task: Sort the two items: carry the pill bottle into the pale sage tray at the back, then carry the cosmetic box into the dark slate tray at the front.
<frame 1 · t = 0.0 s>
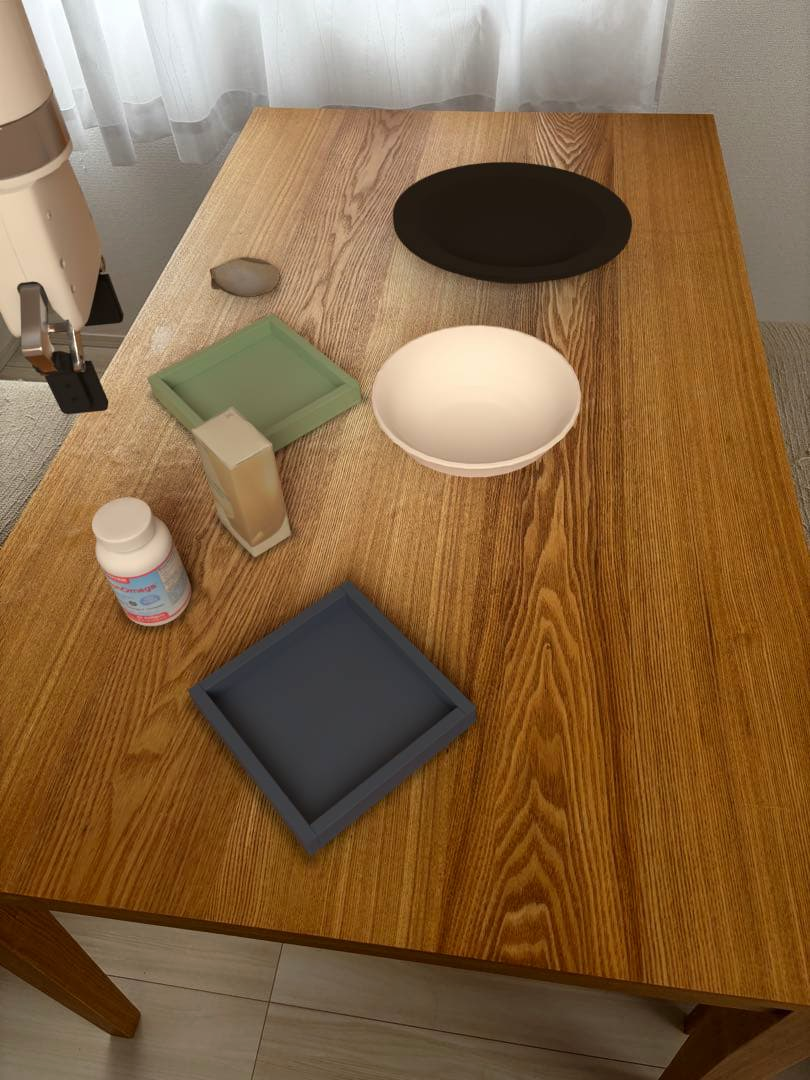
hand: (95, 364, 63), 22 cm above the table, tool pointing down, fingers open, 9 cm apart
plate: (508, 258, 106), on the table
slate tray: (333, 713, 69), on the table
bowl: (474, 439, 87), on the table
seashell: (247, 289, 104), on the table
sage tray: (256, 398, 92), on the table
pill bottle: (159, 601, 77), on the table
cosmetic box: (256, 529, 81), on the table
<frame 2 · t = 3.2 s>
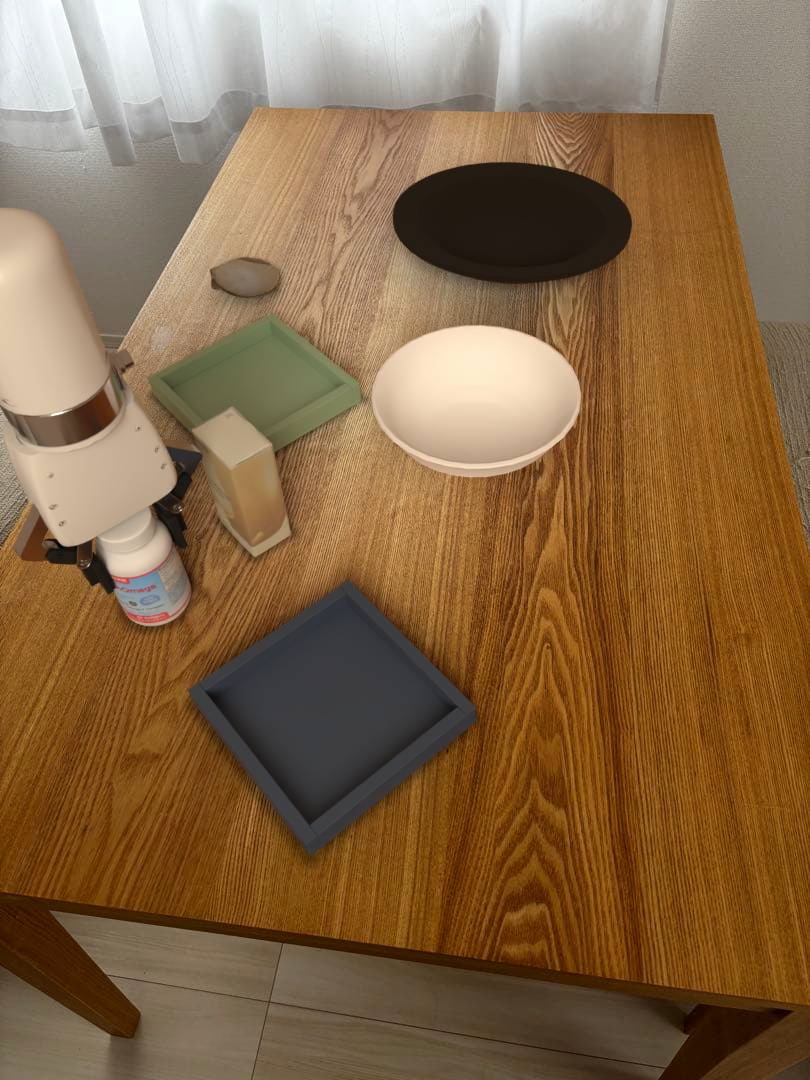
hand: (140, 558, 72), 6 cm above the table, tool pointing down, fingers closed on pill bottle, 6 cm apart
pill bottle: (159, 600, 77), on the table, touching gripper
everything else where it was.
when the fingers open (6 cm above the table, at t = 10.8 s): pill bottle stays where it is, resting on sage tray.
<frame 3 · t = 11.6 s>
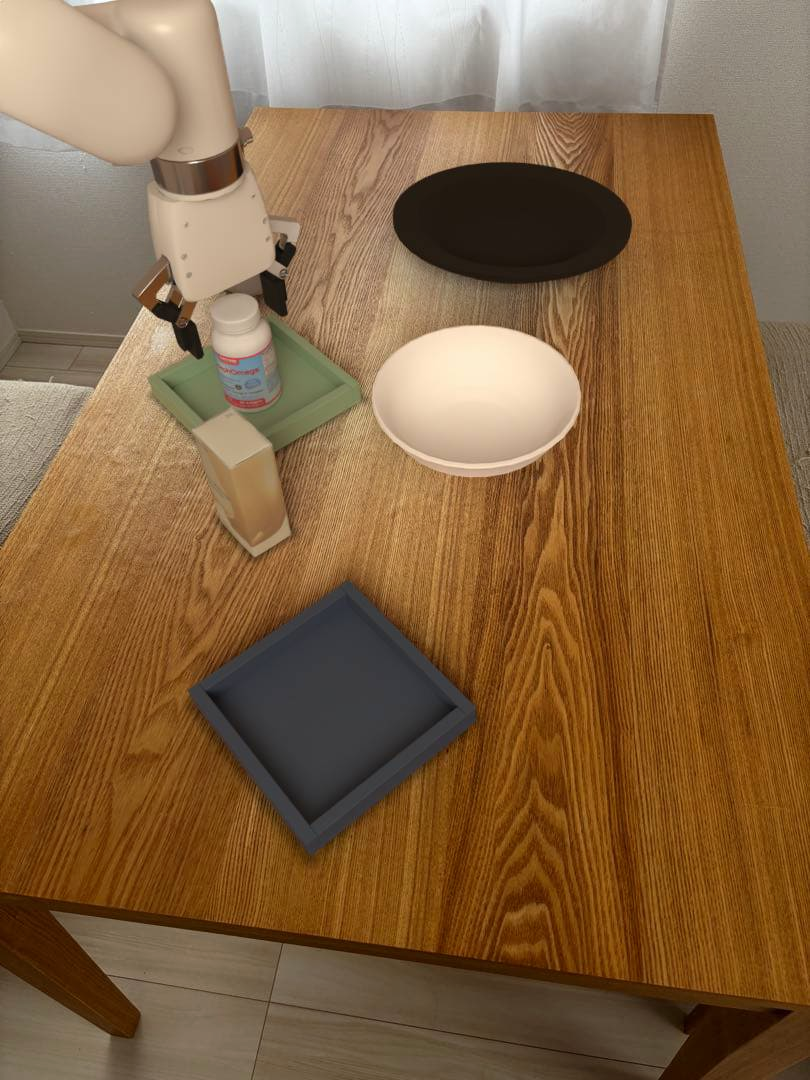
hand: (235, 330, 85), 9 cm above the table, tool pointing down, fingers open, 9 cm apart
pill bottle: (255, 396, 92), resting on sage tray
everything else where it was.
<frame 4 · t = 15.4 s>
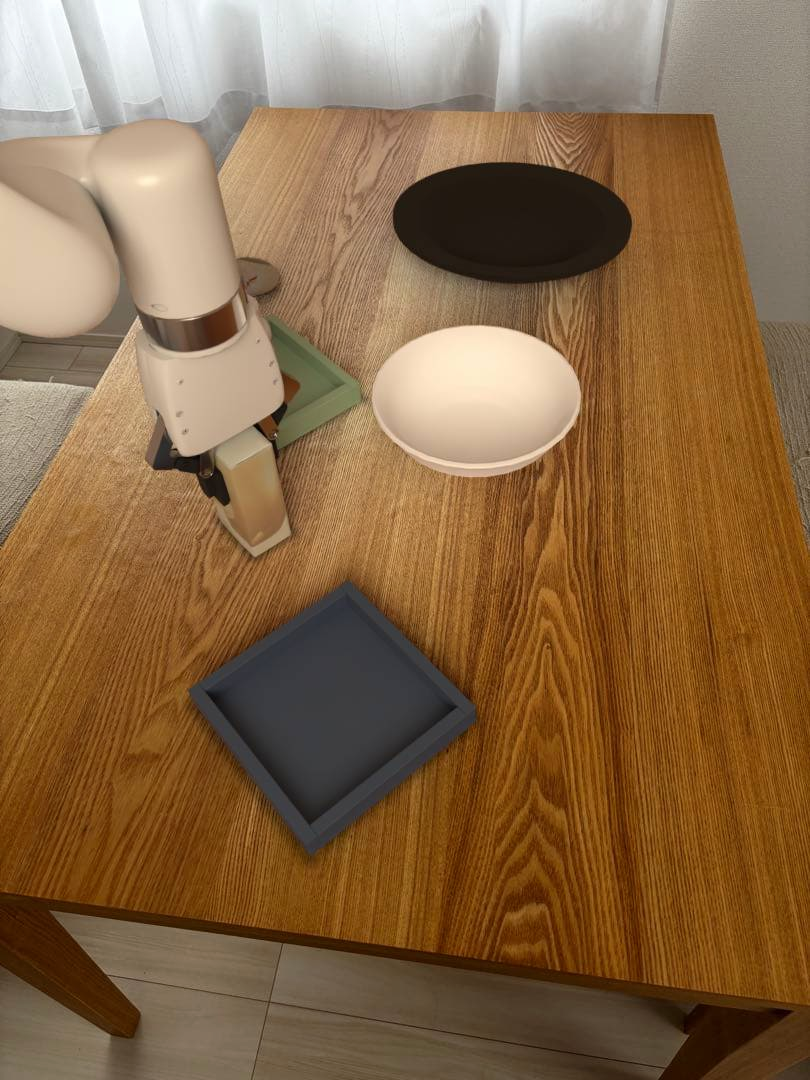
hand: (242, 479, 76), 7 cm above the table, tool pointing down, fingers closed on cosmetic box, 4 cm apart
cosmetic box: (256, 529, 81), on the table, touching gripper
everything else where it was.
when the fingers open (7 cm above the table, at t = 21.8 s): cosmetic box stays where it is, resting on slate tray.
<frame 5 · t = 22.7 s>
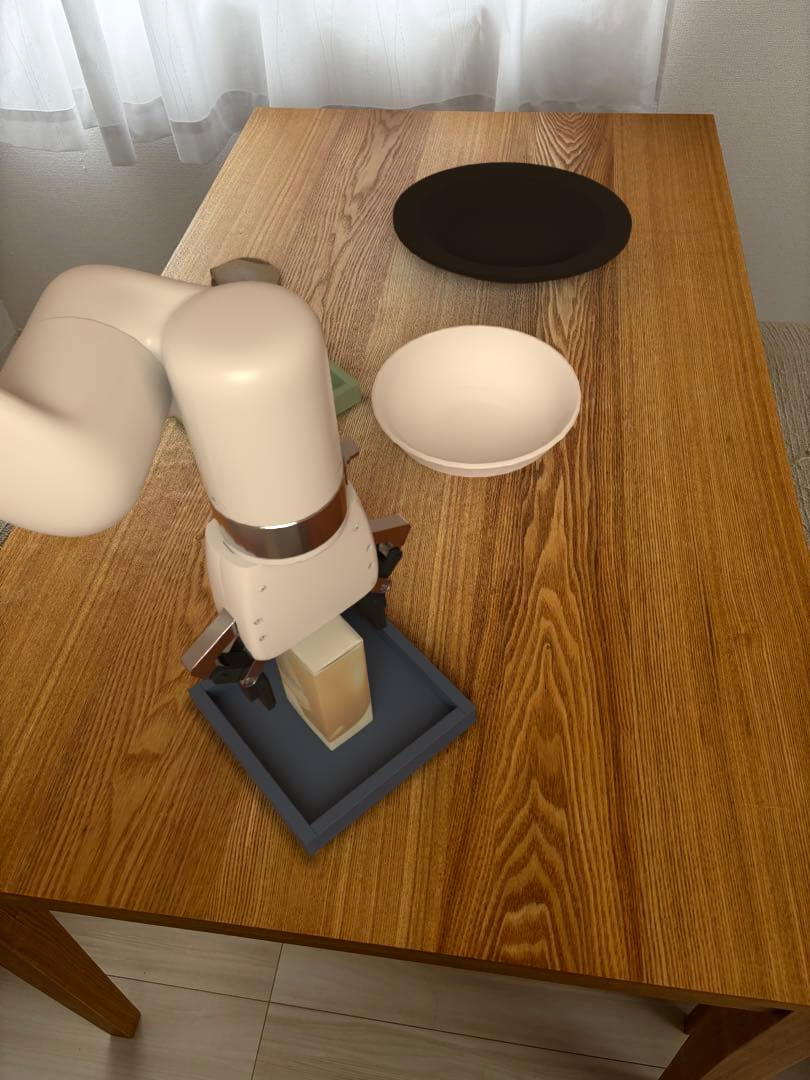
hand: (317, 654, 62), 9 cm above the table, tool pointing down, fingers open, 9 cm apart
cosmetic box: (331, 711, 69), resting on slate tray
everything else where it was.
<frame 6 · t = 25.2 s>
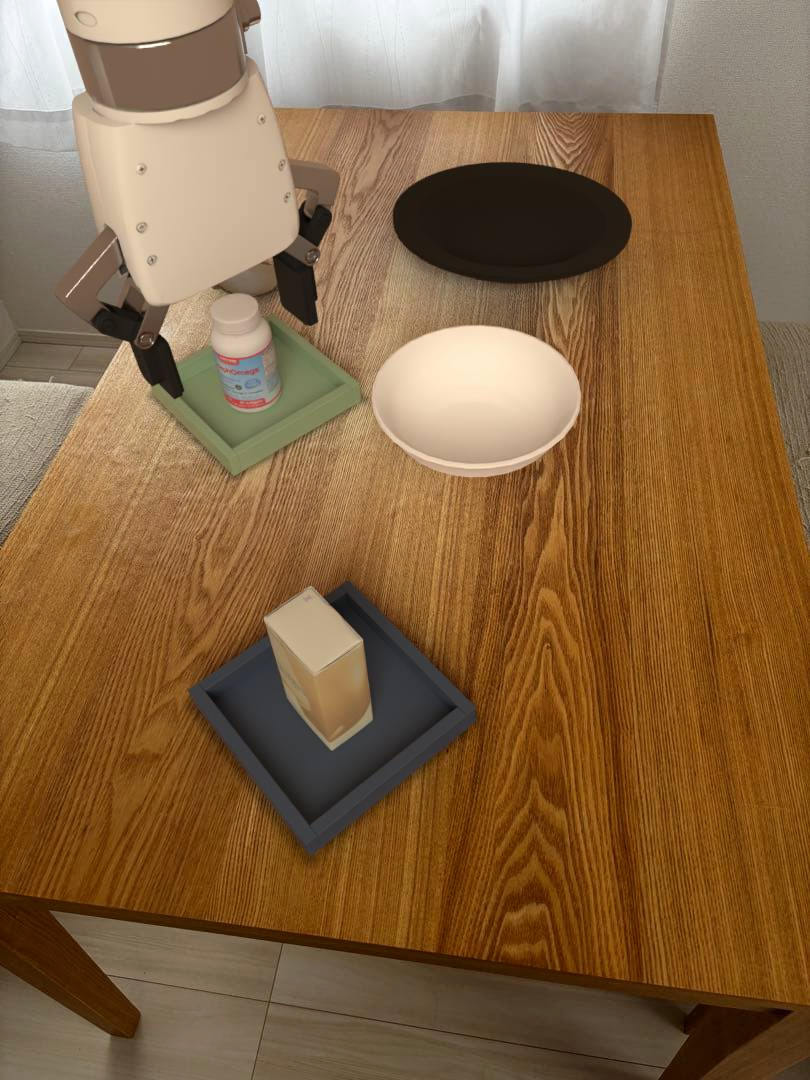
hand: (236, 349, 53), 28 cm above the table, tool pointing down, fingers open, 9 cm apart
nothing on the table moved.
at the end: pill bottle inside the target area in the sage tray (0.1 cm from its centre), point 0.3 cm above the sage tray's base; cosmetic box inside the target area in the slate tray (0.1 cm from its centre), point 0.3 cm above the slate tray's base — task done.
